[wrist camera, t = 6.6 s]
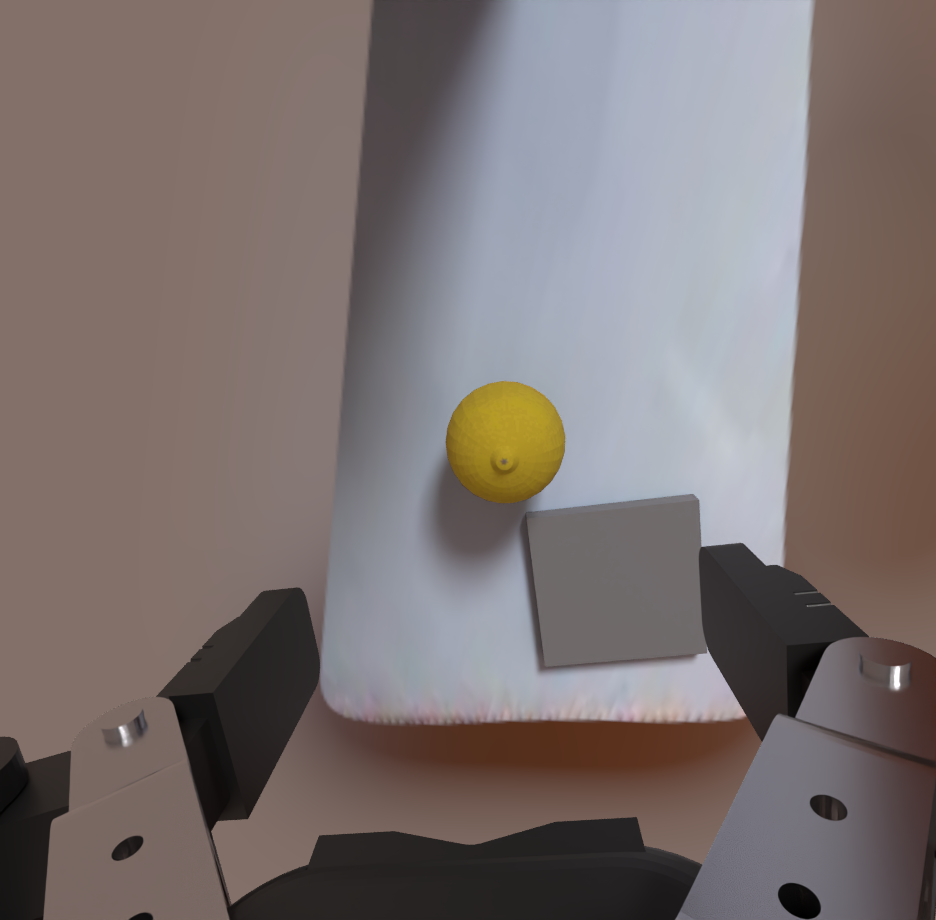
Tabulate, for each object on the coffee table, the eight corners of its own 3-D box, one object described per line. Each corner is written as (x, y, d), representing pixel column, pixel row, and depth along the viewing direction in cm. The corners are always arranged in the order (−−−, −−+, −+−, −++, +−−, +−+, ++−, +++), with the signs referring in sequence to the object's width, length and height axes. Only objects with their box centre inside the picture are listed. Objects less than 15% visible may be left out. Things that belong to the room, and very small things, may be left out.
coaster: (525, 512, 32) (526, 518, 31) (693, 494, 31) (698, 499, 30) (543, 657, 34) (544, 666, 33) (701, 643, 34) (707, 653, 33)
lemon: (560, 373, 30) (577, 394, 23) (555, 476, 32) (570, 529, 24) (453, 372, 31) (435, 392, 23) (454, 474, 32) (436, 525, 24)
